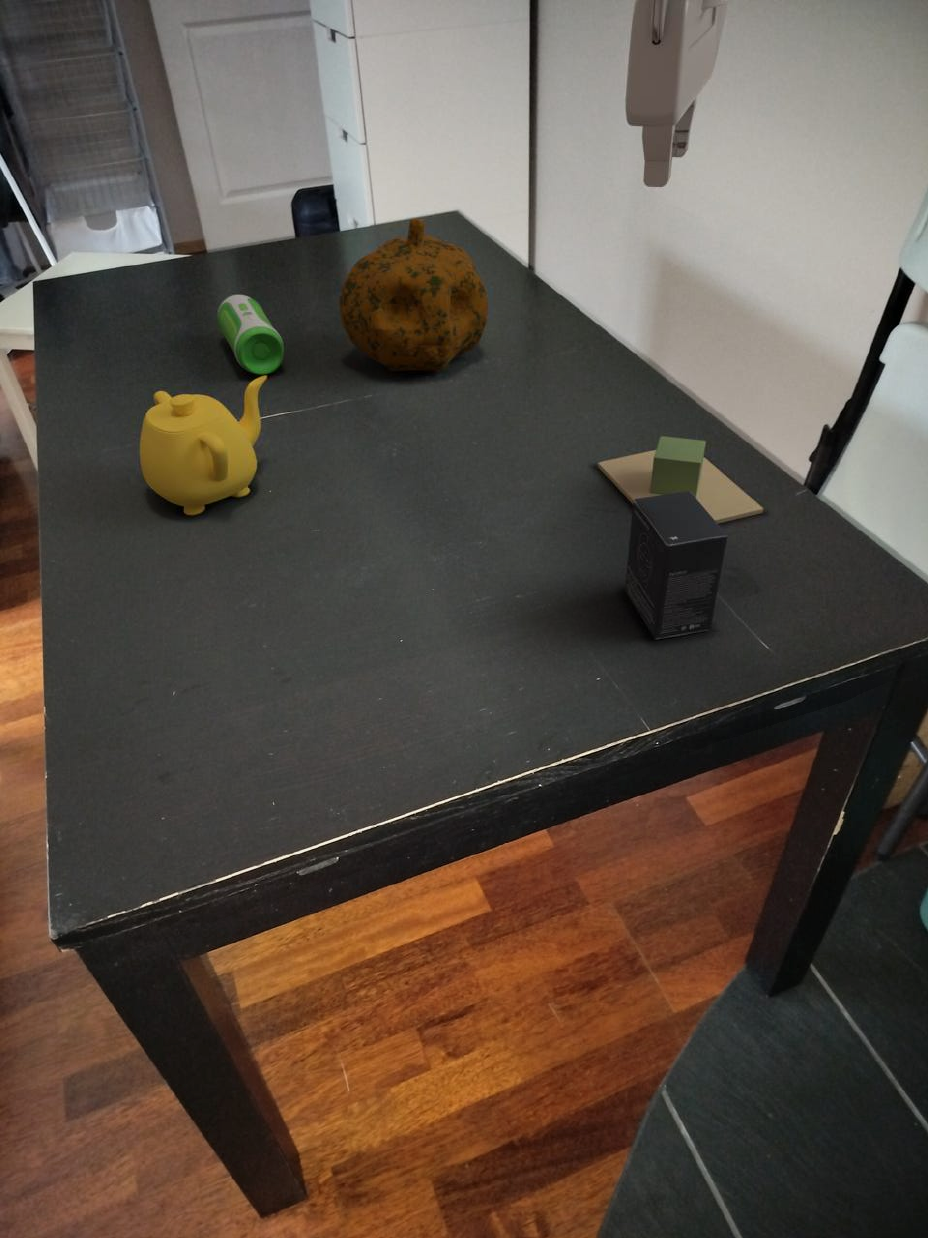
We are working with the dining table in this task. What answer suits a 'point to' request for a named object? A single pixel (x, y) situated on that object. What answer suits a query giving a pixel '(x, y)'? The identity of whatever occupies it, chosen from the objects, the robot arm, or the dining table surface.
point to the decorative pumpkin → (414, 303)
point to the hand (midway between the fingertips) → (666, 169)
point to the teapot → (199, 448)
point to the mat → (712, 490)
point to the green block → (677, 465)
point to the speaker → (250, 335)
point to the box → (674, 564)
